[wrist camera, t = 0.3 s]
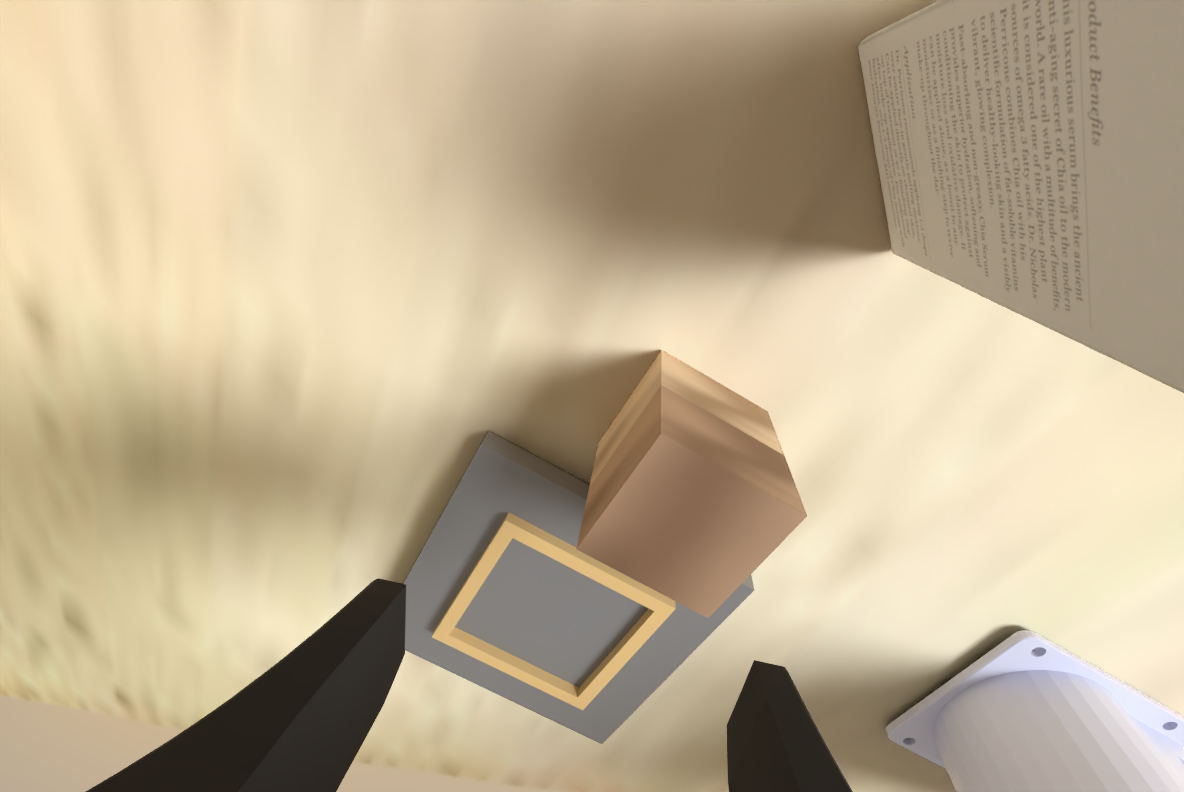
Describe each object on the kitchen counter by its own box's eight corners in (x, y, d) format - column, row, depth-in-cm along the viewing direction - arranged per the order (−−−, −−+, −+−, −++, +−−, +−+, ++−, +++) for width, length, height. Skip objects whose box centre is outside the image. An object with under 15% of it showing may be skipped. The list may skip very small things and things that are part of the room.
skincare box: (1046, 204, 16) (1841, 350, 5) (888, 254, 17) (1276, 463, 6) (1031, -39, 14) (2360, -660, 3) (851, 36, 15) (1352, -221, 4)
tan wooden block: (767, 411, 20) (807, 516, 14) (696, 496, 22) (708, 618, 16) (661, 349, 19) (661, 433, 14) (598, 442, 21) (576, 549, 16)
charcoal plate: (750, 571, 23) (756, 599, 21) (603, 724, 28) (600, 754, 26) (488, 430, 21) (476, 450, 20) (384, 618, 26) (369, 644, 25)
